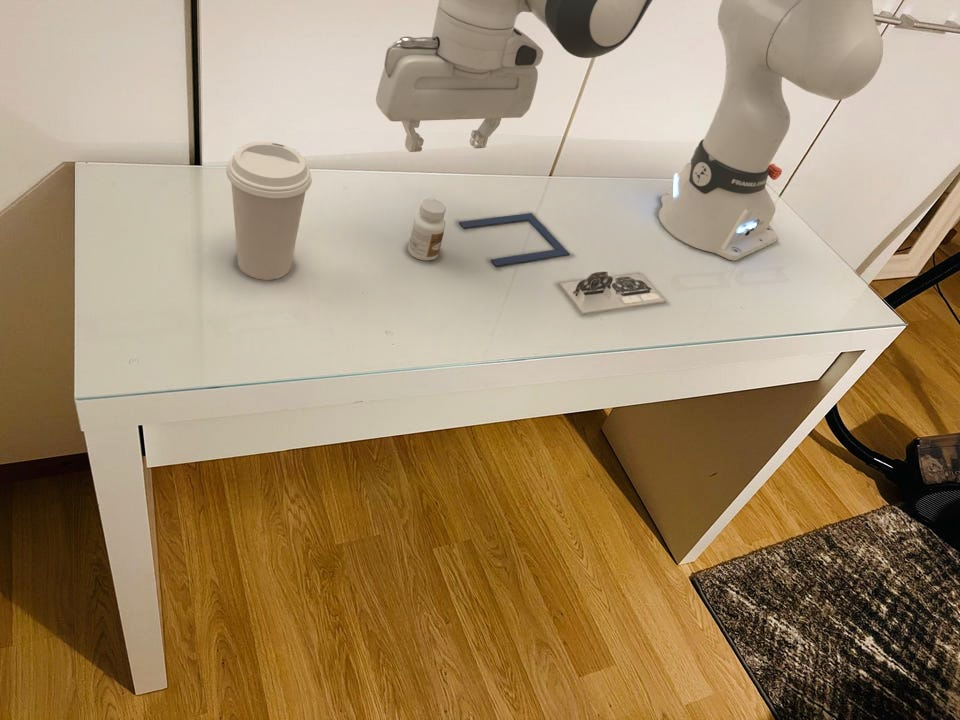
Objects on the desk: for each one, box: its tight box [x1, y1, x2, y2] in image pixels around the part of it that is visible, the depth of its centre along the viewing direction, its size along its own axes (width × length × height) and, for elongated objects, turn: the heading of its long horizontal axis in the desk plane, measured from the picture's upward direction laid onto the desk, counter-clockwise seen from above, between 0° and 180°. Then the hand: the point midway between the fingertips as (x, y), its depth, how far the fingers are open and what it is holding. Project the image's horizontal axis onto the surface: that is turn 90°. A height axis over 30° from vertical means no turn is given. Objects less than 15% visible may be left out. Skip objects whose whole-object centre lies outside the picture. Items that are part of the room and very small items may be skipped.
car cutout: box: [558, 271, 666, 316], centre depth 109 cm, size 15×7×4 cm, turn 116°
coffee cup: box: [225, 141, 313, 281], centre depth 92 cm, size 10×10×15 cm
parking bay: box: [458, 212, 570, 268], centre depth 115 cm, size 14×11×1 cm
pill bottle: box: [407, 198, 447, 261], centre depth 104 cm, size 4×4×8 cm
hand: (445, 147), depth 96 cm, fingers open, 8 cm apart
